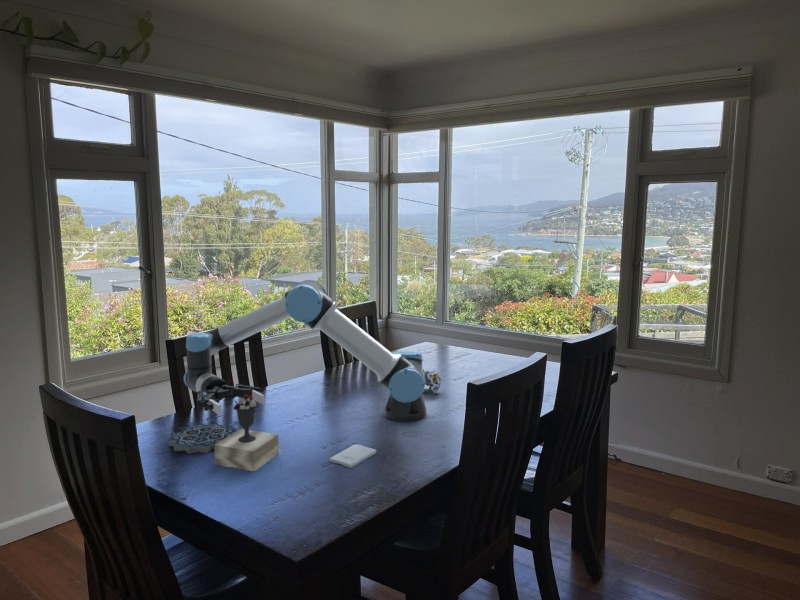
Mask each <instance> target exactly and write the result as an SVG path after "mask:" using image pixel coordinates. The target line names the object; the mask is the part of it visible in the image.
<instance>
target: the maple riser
mask: <svg viewBox="0 0 800 600" xmlns="http://www.w3.org/2000/svg"><path fill="white" fill-rule="evenodd" d="M244 434H245V429H244V428H240V429H238V430H237V432H235V433H233V434H232V435H230V436H228V437H227V438H225V439H223V440H221V441H220V442H218V443H216V444H215V445H214V465H216V466H220V465H221V467H227V468H231V467H233V468H232V469H237V468H238V470H242V469H244V471H248V470H249V472H253V471H254V472H255V471H257V470H258V469H260V468H261V467H263V466H264V465H265V464H266V462H267V463H269V461H271V460H272V459H273V458H275V457H276V456H277V454H278V455H279V454H280V452H279V450H280V449H279V448H280V446H279V434H277V433H276V434H275V433H271V432H265V431H264V432H263V431H257V430H251V429H249V434H250V436H254V437H256V439H255V440H254V441H252V442H240V441H239V440H238V439H239V438H240V437H242V436H244Z"/></svg>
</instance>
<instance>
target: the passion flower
mask: <svg viewBox="0 0 800 600" xmlns="http://www.w3.org/2000/svg"><path fill="white" fill-rule="evenodd" d="M422 371H423V375H424V379H425V386H427V387H428V390H429V392H431V394H433V396H434V395H436V394H437V393H438V394H439V390H441V383H442V382H441V381H442V379H441V377H440V375H439V373H438V372H434V373H433V372H430V371H429V370H426V371H425V369H424V368H422ZM435 393H436V394H435Z"/></svg>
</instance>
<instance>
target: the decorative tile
mask: <svg viewBox="0 0 800 600" xmlns="http://www.w3.org/2000/svg"><path fill="white" fill-rule="evenodd" d="M237 431H238V430H237V429H233V428H231V426H230V425H220V424H219V423H211V424H204V423H200V424H197V425H194V426H187V427H184V428H183V429H182V430H180V431H175V432H172V437H171V438H169V439H168V446H169V447H172V446H173V451H174V452H184V451H185V453H187V454H188V455H190V454H195V453H204V452H205V453H204V454H208V453H210V452H211V450H212V451H213V449H214V445H215V444H216V443H218V442H220V441H221V440H223V439H225V438H227V437H228V436H230V435H232V434H233V433H235V432H237ZM209 451H210V452H209ZM194 452H195V453H194ZM207 452H208V453H207Z"/></svg>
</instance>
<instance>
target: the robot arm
mask: <svg viewBox="0 0 800 600" xmlns="http://www.w3.org/2000/svg"><path fill="white" fill-rule="evenodd" d="M336 304H337V303H336V301H335V300H333V299H332V298H331V297H330V296H328V294H327V292H326V289H325V287H324V286H323V285H322V284H321V283H319V281H315V280H313V279H312V280H311V279H306V280H303V281H300V282H299V283H298V284H296V285H295V286H292V288H291V289H290V290H287V291H285V292H284V293H283V296H281V297H279V298H277V299H275V300H273V301H271V302H269V303H267V304H266V303H265V304H264V305H262V306H260V307H258V308H256V309H254V310H252V311H249V312H248V313H246V314H243V315H242V316H239V317H237V318H235V319H233V320H231V321H229V322H227V323H224V324H222V325H220V326H219V327H216V328H213V329H211V330H209V331H206V332H194V333H189V334H187V336H186V340H185V343H186V344H185V348H186V349H185V350H186V362H187V363H186V364H187V368H186V371H185V373H184V375H183V382H184V384H185V386H186V387H187V388H188V389H189V390H191V391H193V392H195V393H196V394H197V398H196V399H197V400H196V407H197V408H196V409H197V410H201V409H202V408H203V411H204V412H206V411H207V412H208V411H212V412H214V413H216V414H217V415H221V414H222V407H221V406H222V405H221V403H219V402H220V401H222V400H223V399H235V398H237V397H238V398H241V397H244V395H245V394H248V397H249V396H252V397H253V400H254V401H255V402H257V403H259V404H261V405H265V394H263V393H262V387H259V386H253V385H244V384H242V383H241V384H240V383H236V384H235V385H234V386H233V385H228V383H227V381H226V380H225V379H223V378H220V377H219V376H217V375H215V374H213V373H212V370H213V369H212V356H213V355H215V354H217V353H218V352H220V351H221V350H224V349H226V348H228V347H230V346H232V345H234V344H235V343H239V342H241V341H242V340H245V339H246V338H249V337H251V336H254V335H256V334H258V333H260V332H261V331H264V330H266V329H269V328H271V327H272V326H274V325H277V324H278V323H280V322H283V321H285V320H288V319H289V318H291V319H293V320H294V321H297V322H299V323H304V324H305V325H306V326H307V327H309V329H311V330H313V331H315V330H320V331H321V332H322V333H324V334H325V335H326V336H327V337H329V338H330V339H331V340H333V341H334V342H336V343H337V344H338V345H339V346H340V347H342V348H343V349H344V350H345V351H347V352H348V353H349V354H351V356H352V357H355V359H357V360H359V361H360V363H362V364H363V365H364V366H366V367H367V368H368V369H370V370H371V371H372V372H373V373H375V375H376V376H377V377H376V378H377V382H378V383H380V384H381V385H382V386H383V387H384V388H386V389H387V390H388V393H389V394H388V397H387V399H386V403H385V405H384V407H383V409H384V416H385V418H386V419H389V420H392V421H395V422H396V421H397V422H404V423H405V422H407V423H408V422H416V420H417V421H420V420H423V419H424V418H425V416H427V406H426V404H425V403H426V402H425V400H424V397H423V393H424V391H425V387H426V385H425V379H424V373H423V361H424V360H423V355H422V353H421V352H419V351H414V350H413V351H412V350H409V351H408V350H404V351H403V350H402V351H392V352H391V351H390V350H389V349H388V348H386V347H385V346H383V344H382V343H380V342H379V341H378V340H376V339H375V338H374V337H373V336H371V335H370V334H369V333H368V332H366V331H365V330H364V329H362V328H361V327H360V326H359V325H357V324H356V323H355V322H353V320H351V319H350V318H348V316H346V315H345V314H343V313H342V312H341V311H340V310H339V309H337V305H336ZM251 389H253V390H252V391H251ZM249 391H250V392H249ZM248 392H249V393H248ZM250 393H251V395H250ZM422 418H423V419H422Z"/></svg>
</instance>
